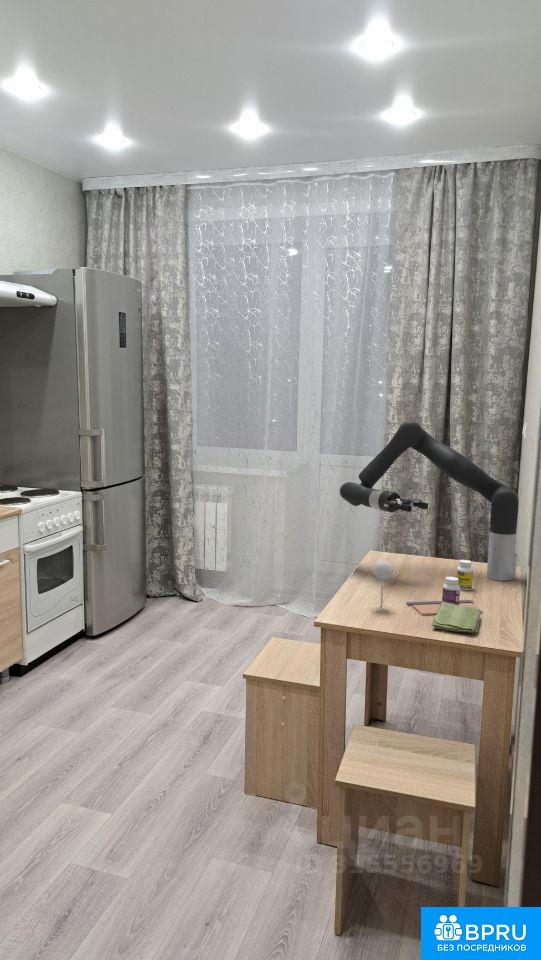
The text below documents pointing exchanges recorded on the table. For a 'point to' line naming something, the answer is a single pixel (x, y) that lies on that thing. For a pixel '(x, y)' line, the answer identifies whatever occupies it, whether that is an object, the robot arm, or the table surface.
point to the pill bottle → (451, 591)
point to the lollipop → (382, 573)
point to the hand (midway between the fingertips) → (419, 507)
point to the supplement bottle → (465, 575)
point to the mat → (436, 606)
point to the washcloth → (457, 618)
